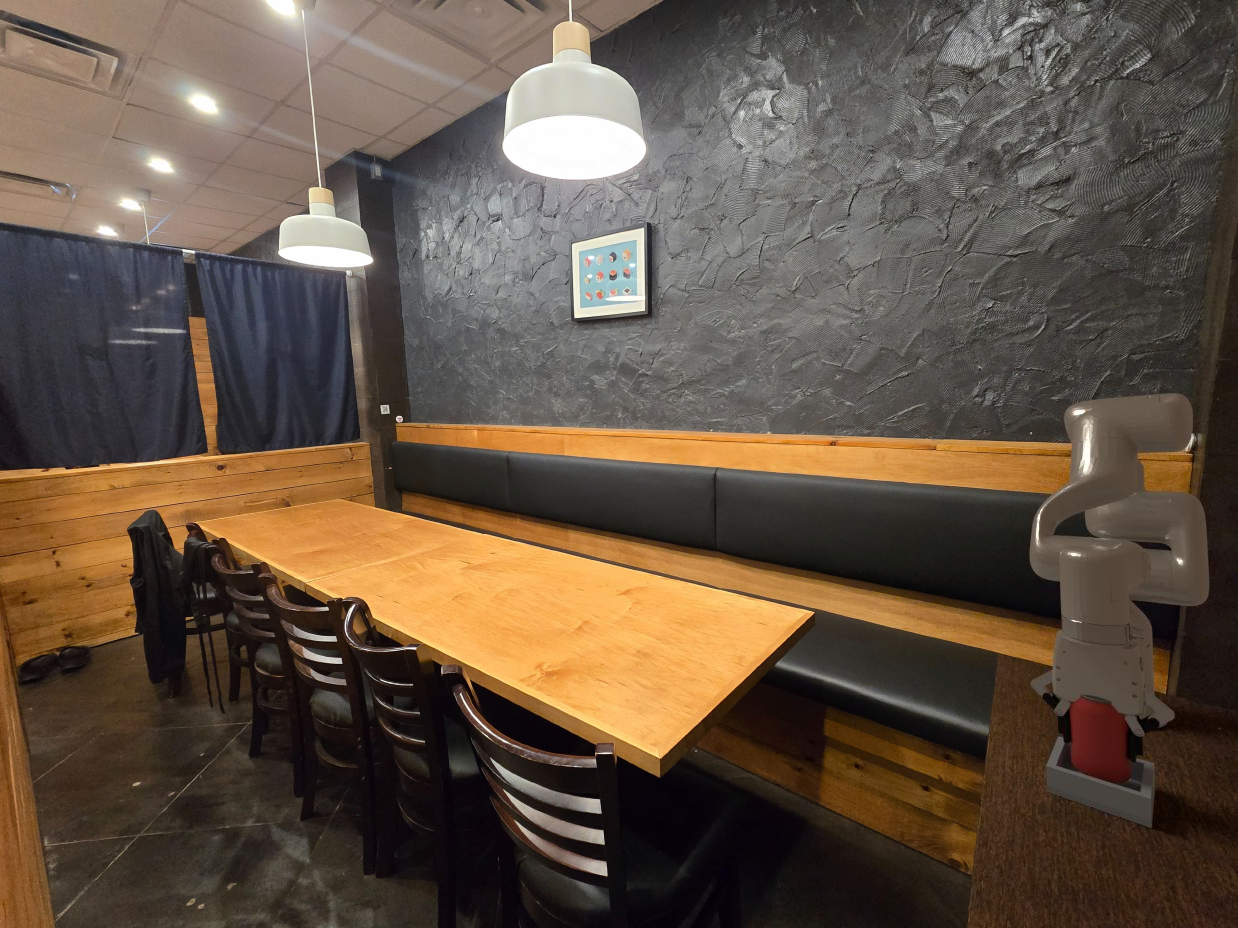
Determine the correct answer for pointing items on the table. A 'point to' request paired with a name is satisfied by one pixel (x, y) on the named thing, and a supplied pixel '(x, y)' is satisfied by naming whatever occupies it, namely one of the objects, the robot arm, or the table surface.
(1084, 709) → the beer can
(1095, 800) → the tray
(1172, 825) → the table surface
